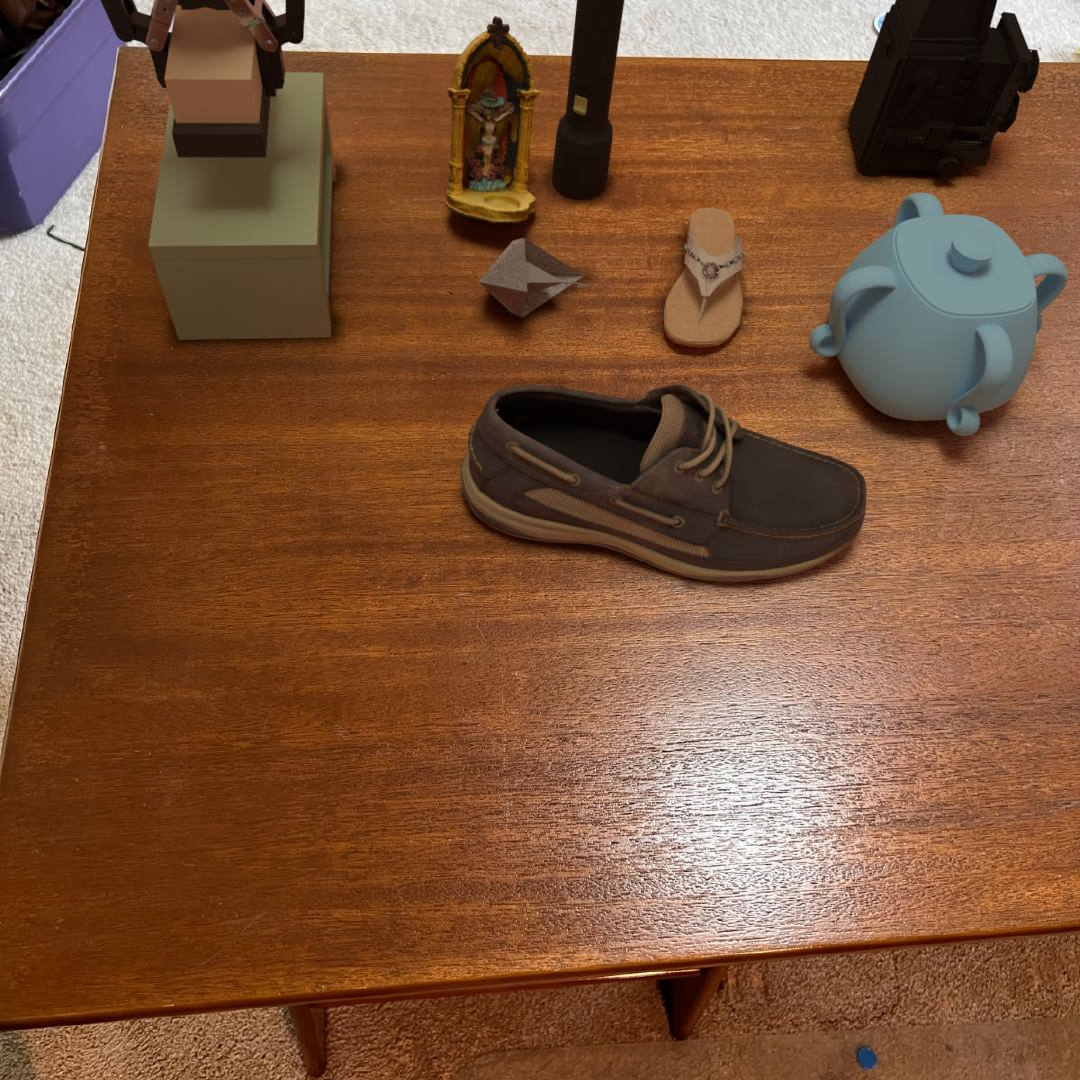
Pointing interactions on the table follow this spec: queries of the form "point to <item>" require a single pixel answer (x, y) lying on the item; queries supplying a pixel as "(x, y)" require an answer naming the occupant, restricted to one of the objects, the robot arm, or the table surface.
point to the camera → (940, 86)
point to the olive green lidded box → (251, 227)
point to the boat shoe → (658, 482)
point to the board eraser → (216, 86)
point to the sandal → (707, 283)
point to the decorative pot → (939, 316)
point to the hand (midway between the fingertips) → (225, 88)
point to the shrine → (491, 129)
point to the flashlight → (588, 102)
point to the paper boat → (527, 277)
